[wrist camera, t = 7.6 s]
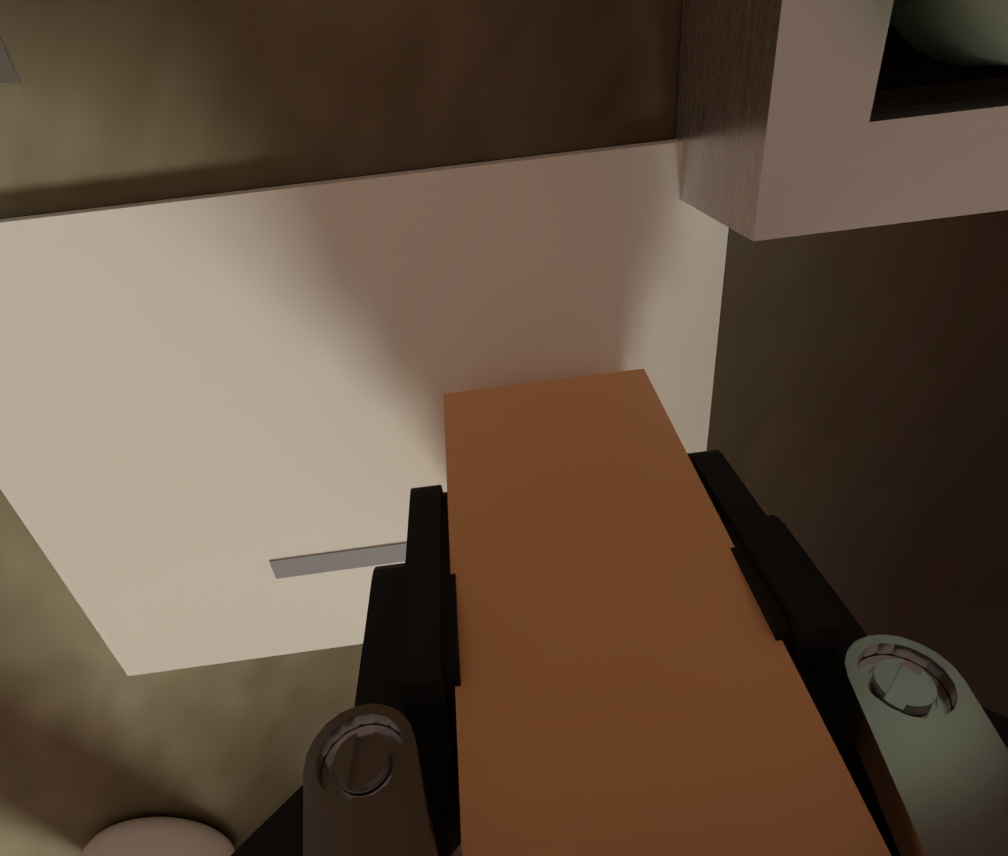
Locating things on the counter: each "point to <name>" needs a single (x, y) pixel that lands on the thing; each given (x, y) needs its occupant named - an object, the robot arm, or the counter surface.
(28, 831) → the counter surface
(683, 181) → the button collar
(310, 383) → the sketch pad
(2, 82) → the grey rectangular prism
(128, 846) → the drinking glass
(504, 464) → the brown box
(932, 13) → the button
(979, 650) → the counter surface
